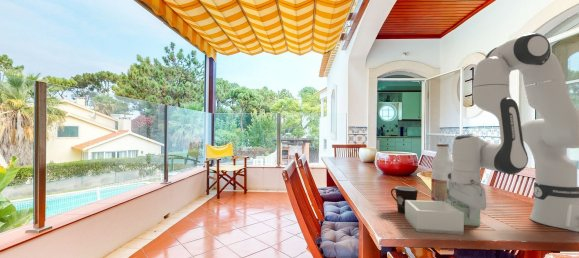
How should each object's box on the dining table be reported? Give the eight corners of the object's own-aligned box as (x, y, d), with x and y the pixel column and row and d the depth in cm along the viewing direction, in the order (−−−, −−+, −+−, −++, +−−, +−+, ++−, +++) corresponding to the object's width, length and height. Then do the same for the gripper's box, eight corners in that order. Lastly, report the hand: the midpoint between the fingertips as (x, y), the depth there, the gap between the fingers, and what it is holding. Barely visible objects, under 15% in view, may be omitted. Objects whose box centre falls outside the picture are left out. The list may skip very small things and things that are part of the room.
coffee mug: (421, 216, 106) (421, 190, 107) (400, 215, 106) (400, 190, 107) (408, 207, 118) (408, 184, 118) (389, 207, 118) (389, 184, 118)
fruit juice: (442, 208, 117) (442, 144, 117) (426, 203, 126) (426, 143, 126) (460, 207, 119) (460, 144, 119) (443, 202, 128) (443, 143, 128)
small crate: (470, 220, 102) (470, 204, 102) (480, 225, 96) (480, 209, 96) (452, 219, 103) (452, 203, 103) (460, 224, 97) (460, 208, 97)
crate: (444, 220, 102) (444, 201, 102) (463, 234, 88) (463, 213, 88) (404, 218, 104) (405, 199, 104) (417, 231, 90) (417, 210, 90)
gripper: (492, 183, 89) (492, 225, 89) (462, 173, 109) (461, 207, 109) (471, 182, 90) (471, 224, 90) (445, 173, 110) (445, 207, 110)
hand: (465, 215), depth 100 cm, fingers closed on small crate, 6 cm apart
